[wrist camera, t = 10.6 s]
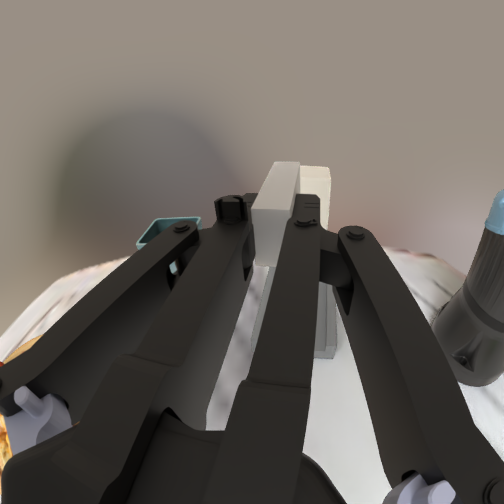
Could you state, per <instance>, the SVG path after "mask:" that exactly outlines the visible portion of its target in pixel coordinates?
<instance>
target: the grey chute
mask: <svg viewBox="0 0 504 504" xmlns="http://www.w3.org/2000/svg"><path fill="white" fill-rule="evenodd" d="M275 269H276V267H269V271H268V275H267V279H266V283H265V287H264V291H263V295H262V299H261V303H260V306H259V310H258V314H257V318H256V322H255V325H254V329H253V333H252V337H251V344H252V352H254V351H255V348H256V344H257V340H258V336H259V332H260V329H261V325H262V321H263V317H264V313H265V309H266V305H267V301H268V297H269V294H270V290H271V286H272V282H273V277H274V273H275ZM336 346H337V336H336V300H335V297H334V294H333V291H332V285H329V284H326V283H323V282H319V294H318V310H317V325H316V337H315V349H314V358H325V359H333V357H334V353H335V350H336Z"/></svg>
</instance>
